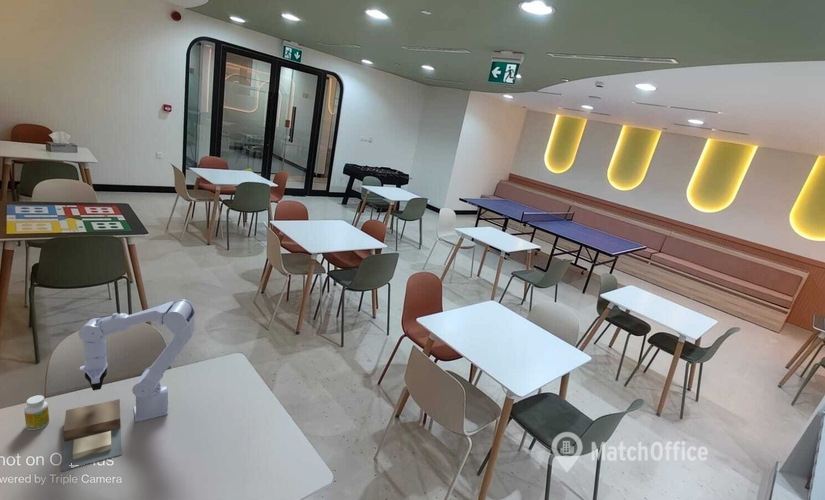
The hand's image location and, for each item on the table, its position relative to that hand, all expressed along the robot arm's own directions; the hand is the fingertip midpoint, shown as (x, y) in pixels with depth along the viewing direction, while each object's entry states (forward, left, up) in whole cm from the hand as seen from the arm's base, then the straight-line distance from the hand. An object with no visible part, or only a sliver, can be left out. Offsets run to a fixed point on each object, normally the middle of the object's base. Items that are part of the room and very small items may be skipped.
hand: (96, 388), depth 132 cm
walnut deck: (+1, +6, -9) cm, 11 cm away
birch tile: (+1, +17, -7) cm, 18 cm away
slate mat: (+1, +17, -9) cm, 20 cm away
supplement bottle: (+15, 0, -10) cm, 18 cm away
